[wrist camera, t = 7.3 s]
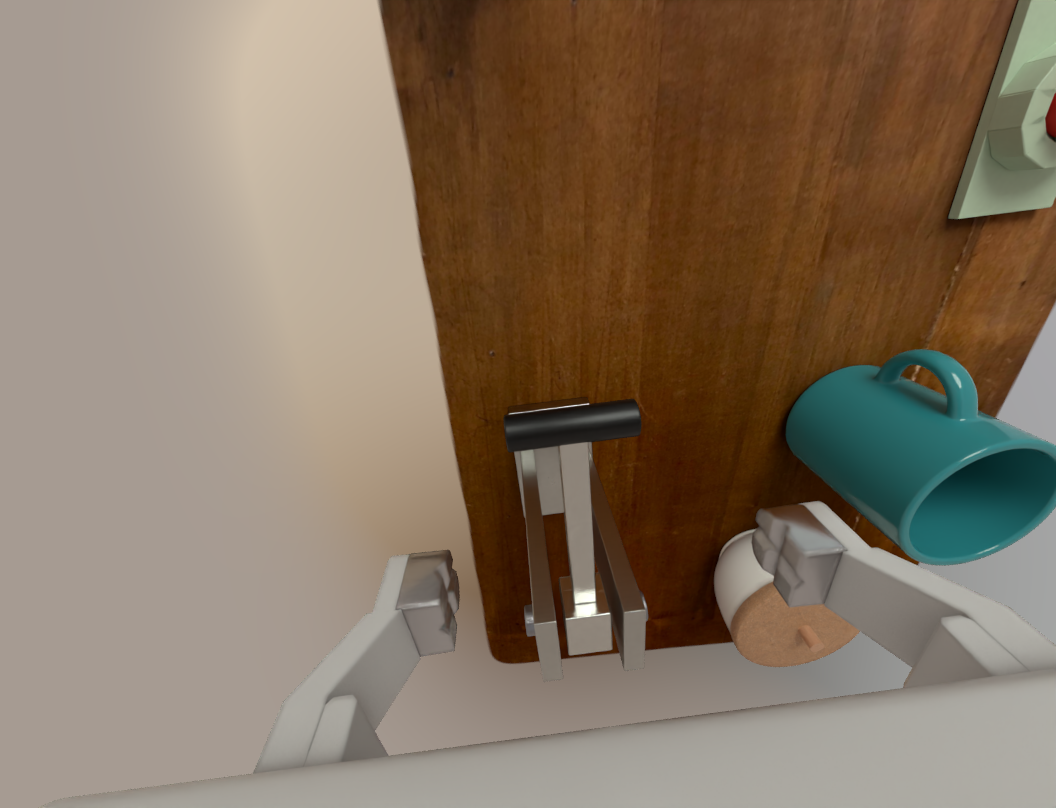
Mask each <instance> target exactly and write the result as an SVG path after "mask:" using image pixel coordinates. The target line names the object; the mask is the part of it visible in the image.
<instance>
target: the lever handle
mask: <svg viewBox="0 0 1056 808" xmlns="http://www.w3.org/2000/svg"><path fill="white" fill-rule="evenodd" d="M504 429H505V438H506V444H507V449H508V452H517V451H525V450H533V449H541V448H549V447H556V446H558V454H559V465H560V475H561V486H562V497H563V507H564V518H565V529H566V539H567V550H568V561H569V571H570V576H568V577H560V578H559V589H560V597H561V606H562V615H563V621H564V628H565V635H566V641H567V648H568V654H569V655H577V654H585V653H592V652H600V651H608V650H612V616H611V610H610V606H609V602H608V599H607V595H606V591H605V587H604V584H603V580H602V576H601V573H595V563H594V544H593V525H592V506H591V487H590V469H589V450H588V442H595V441H603V440H611V439H619V438H627V437H634V436H639V435H640V432H641V416H640V411H639V407H638V405H637V402H636V401H635V400H634V399H626V400H618V401H610V402H602V403H594V404H587V405H579V406H571V407H563V408H555V409H548V410H540V411H532V412H524V413H516V414H508V415H504Z"/></svg>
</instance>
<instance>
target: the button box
mask: <svg viewBox="0 0 1056 808" xmlns="http://www.w3.org/2000/svg"><path fill="white" fill-rule="evenodd" d="M1055 93H1056V0H1019V1H1018V4H1017V7H1016V10H1015V13H1014V16H1013V20H1012V23H1011V26H1010V29H1009V32H1008V35H1007V38H1006V41H1005V44H1004V47H1003V50H1002V53H1001V56H1000V59H999V63H998V66H997V69H996V72H995V75H994V78H993V81H992V84H991V87H990V90H989V93H988V96H987V99H986V102H985V106H984V109H983V112H982V115H981V118H980V121H979V124H978V127H977V130H976V133H975V136H974V139H973V142H972V145H971V149H970V152H969V155H968V158H967V161H966V164H965V167H964V170H963V173H962V176H961V179H960V182H959V185H958V188H957V192H956V195H955V198H954V201H953V204H952V207H951V210H950V213H949V216H948V219H963V218H971V217H978V216H986V215H994V214H1002V213H1010V212H1018V211H1026V210H1034V209H1042V208H1049V207H1051V206H1052V204H1053V202H1054V199H1055V197H1056V138H1055V137H1052V136H1050V135H1049V134H1048V133H1047V132H1046V123H1045V117H1046V115H1047V112H1048V110H1049V107H1050V104H1051V102H1052V99H1053V97H1054V94H1055Z"/></svg>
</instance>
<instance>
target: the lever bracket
mask: <svg viewBox="0 0 1056 808" xmlns="http://www.w3.org/2000/svg"><path fill="white" fill-rule="evenodd" d="M587 404H590V403H589V401H588V398H587V397H581V398H573V399H565V400H557V401H550V402H542V403H534V404H526V405H518V406H511V407H508V414H516V413H524V412H532V411H540V410H548V409H555V408H563V407H571V406H579V405H587ZM588 450H589V469H590V487H591V506H592V525H593V544H594V557H595V561H596V565H597V568H598V572H599V573H601V576H602V580H603V584H604V587H605V591H606V595H607V599H608V602H609V606H610V610H611V616H612V626H613V630H614V634H615V637H616V641H617V645H618V649H619V653H620V656H621V660H622V664H623V668H624V670H625V671H629V670H636V669H643V668H644V656H645V622H646V621H647V620H648V610H647V605H646V601H645V598H644V595H643V593H642V592H641V591H640V590H639V589H638V586H637V583H636V580H635V578H634V575H633V572H632V569H631V566H630V563H629V561H628V558H627V555H626V552H625V549H624V546H623V544H622V541H621V538H620V535H619V532H618V529H617V527H616V524H615V521H614V518H613V515H612V512H611V509H610V507H609V504H608V501H607V498H606V495H605V492H604V490H603V487H602V484H601V481H600V478H599V475H598V473H597V470H596V467H595V464H594V461H593V457H592V442H588ZM514 455H515V461H516V468H517V474H518V481H519V487H520V494H521V501H522V507H523V514H524V517H525V519H526V532H527V544H528V557H529V570H530V583H531V595H532V604H531V605H525V606H524V614H525V625H526V632H527V636H536V641H537V647H538V653H539V659H540V665H541V671H542V677H543V681H544V682H545V681H552V680H560V679H563V672H562V664H561V656H560V648H559V640H558V632H557V624H556V616H555V608H554V601H553V593H552V586H551V578H550V570H549V563H548V555H547V548H546V540H545V533H544V525H543V517H542V515H548V514H556V513H564V507H563V497H562V486H561V475H560V465H559V454H558V446H556V447H549V448H541V449H533V450H525V451H517V452H514Z"/></svg>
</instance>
